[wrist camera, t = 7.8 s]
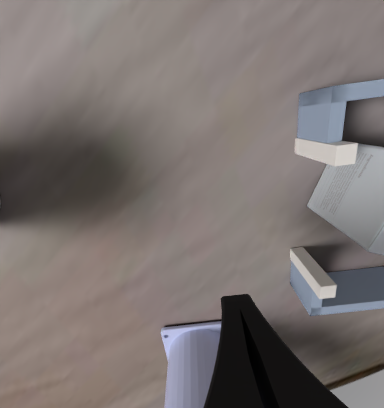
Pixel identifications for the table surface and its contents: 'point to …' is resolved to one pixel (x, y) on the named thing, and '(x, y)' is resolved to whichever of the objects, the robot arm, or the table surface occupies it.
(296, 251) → the walled box
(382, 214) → the product box
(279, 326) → the table surface
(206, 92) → the table surface
